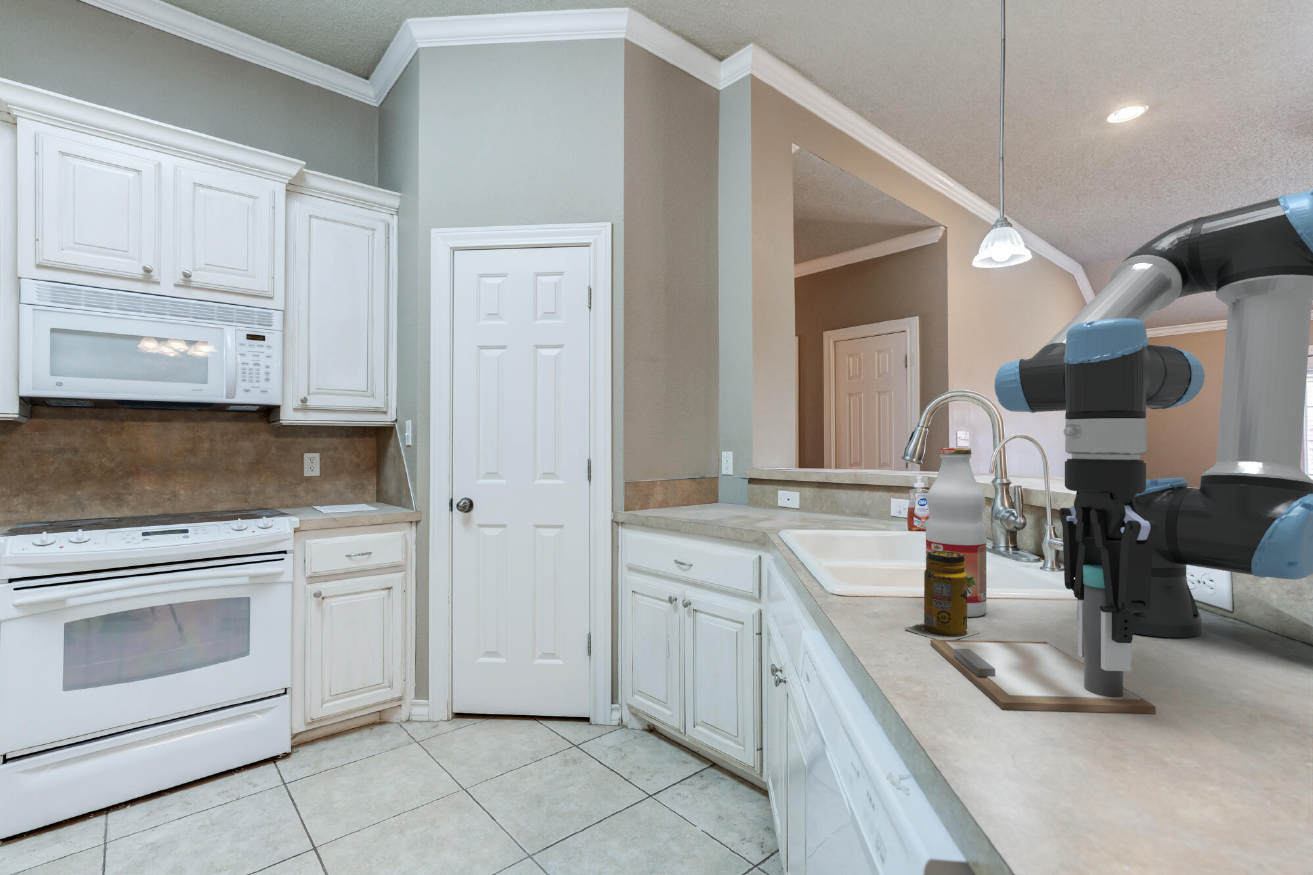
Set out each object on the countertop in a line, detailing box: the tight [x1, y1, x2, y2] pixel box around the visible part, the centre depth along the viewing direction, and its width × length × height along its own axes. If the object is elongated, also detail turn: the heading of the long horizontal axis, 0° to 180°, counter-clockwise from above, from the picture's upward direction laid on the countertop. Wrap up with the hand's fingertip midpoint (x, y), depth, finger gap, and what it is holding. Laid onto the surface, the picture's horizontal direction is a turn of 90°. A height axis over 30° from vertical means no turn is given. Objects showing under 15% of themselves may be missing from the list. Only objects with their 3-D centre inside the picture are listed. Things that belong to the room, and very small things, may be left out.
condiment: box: [903, 551, 980, 640], centre depth 95 cm, size 7×8×12 cm
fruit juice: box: [925, 447, 987, 618], centre depth 106 cm, size 9×9×28 cm
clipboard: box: [930, 639, 1157, 715], centre depth 78 cm, size 16×21×2 cm
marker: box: [1083, 564, 1124, 697], centre depth 70 cm, size 4×4×14 cm
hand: (1103, 662), depth 70 cm, fingers closed on marker, 3 cm apart
